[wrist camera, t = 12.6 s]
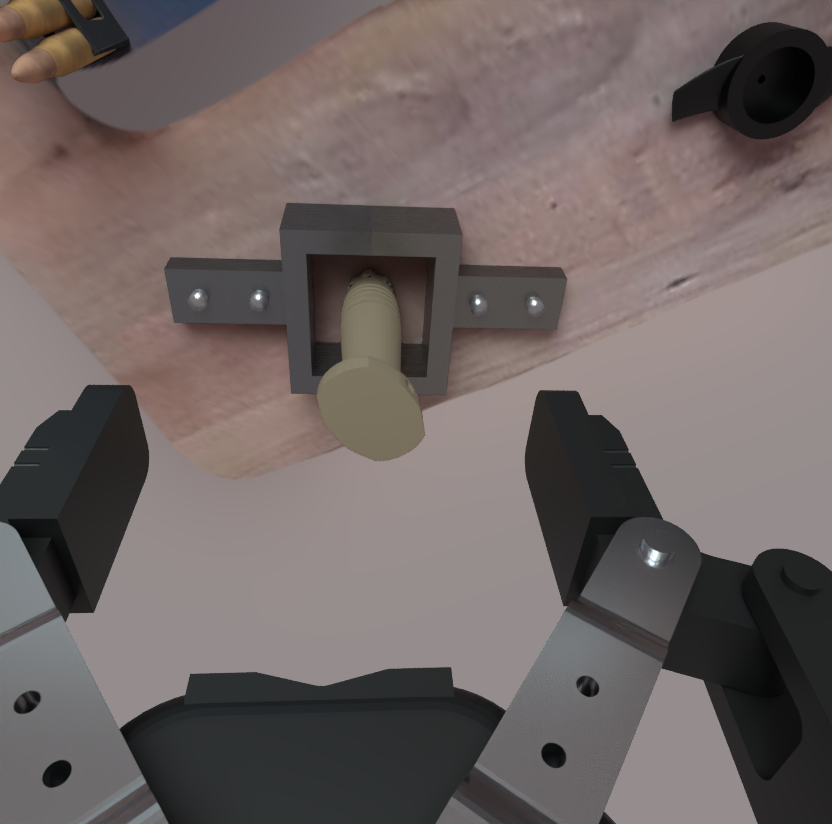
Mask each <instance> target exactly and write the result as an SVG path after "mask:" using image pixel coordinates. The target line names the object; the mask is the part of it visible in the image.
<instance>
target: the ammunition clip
mask: <svg viewBox="0 0 832 824" xmlns="http://www.w3.org/2000/svg"><path fill="white" fill-rule="evenodd" d="M69 26H72V27H71V28H69V29H66V30H64V31H61V32H59V33H56V34H55V33H54V32H55V31H58V30H60V29H63V28H66V27H69ZM41 36H44V37H45V38H44V39H42V40H41V41H40V42H39V43H38V44H37V45H36V47H34V48H32V49H31V50H30V51H28V52H26V53H24V54H23V55H22V56H20V57H19V58H18V59H17V60H16V62H15V63H14V65H13V67H12V71H11V73H12V77H13V78H14V79H15V80H17V81H20V82H25V83H36V82H40V81H43V80H46V79H49V78H52V77H55V76H57V77H62V76H65V75H68V74H70V73H72V72H74V71H76V70H78V69H80V68H82V67H84V66H87V65H90V64H93V63H96V62H98V61H101V60H104V59H106V58H108V57H109V56H111V55H112V54H114V53H116V52H117V51H119V50H120V49H122V48H123V47H125V46H126V45H128V44H129V38H128V37H127V35H126V34H125V33H124V31H123V30H122V28H121V27H120V25H119V24H118V22H117V21H116V19H115V18H114V16H113V15H112V13H111V12H110V10H109V9H108V7H107V6H106V5H105V3H104V2H103V0H11V1H9V3H8V4H7V5H5V6H3V7H0V42H7V41H12V40H15V39H17V40H18V39H23V38H27V39H35V38H38V37H41Z"/></svg>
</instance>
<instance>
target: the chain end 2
mask: <svg viewBox="0 0 832 824" xmlns="http://www.w3.org/2000/svg"><path fill="white" fill-rule="evenodd" d="M371 210H372V256H406V257H428V270H427V284H426V298H425V312H424V326H423V340H422V344H401V373H403V374H404V375H405V376H406V377H407V378H408V379H409V381H410V382H411V384H412V386H413V387H414V389H415V391H416V393H417V394H418V395H446V390H447V381H448V371H449V361H450V351H451V341H452V332H453V328H504V329H557V324H558V319H559V315H560V310H561V305H562V300H563V296H564V291H565V286H566V281H567V278H566V276H565V274H564V272H563V271H562V269H561V268H558V267H520V266H481V265H459V263H460V253H461V243H462V232H461V229H460V225H459V222H458V219H457V216H456V212H455V209H453V208H423V207H392V206H371Z"/></svg>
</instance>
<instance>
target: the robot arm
mask: <svg viewBox="0 0 832 824" xmlns="http://www.w3.org/2000/svg"><path fill="white" fill-rule="evenodd" d="M628 450H629V449H628V448H627V445H626V443H625V441H624V439H623V437H622V435H621V433H620V431H619V430H618V429H616V428H615V427H614V426H613V425H612V424H611V423H610V422H609V421H608V420H607V419H605V418H604V417H603V416H602V415H588V413H587V410H586V408H585V406H584V404H583V401H582V399H581V397H580V395H579V393H578V392H577V391H550V390H548V391H546V390H540V391H539V392H538V394H537V397H536V401H535V406H534V411H533V415H532V421H531V425H530V430H529V435H528V440H527V445H526V452H525V471H526V477H527V481H528V484H529V488H530V491H531V495H532V498H533V502H534V505H535V509H536V512H537V515H538V519H539V522H540V526H541V529H542V533H543V537H544V540H545V543H546V547H547V550H548V554H549V557H550V561H551V564H552V568H553V571H554V575H555V578H556V582H557V585H558V589H559V592H560V595H561V599H562V603H563V606H567V608H566V610H565V611H564V613H563V615H562V616H561V618H560V620H559V622H558V623H557V625H556V627H555V629H554V630H553V632H552V634H551V635H550V637H549V639H548V640H547V642H546V644H545V646H544V647H543V649H542V651H541V652H540V654H539V656H538V658H537V659H536V661H535V663H534V665H533V666H532V668H531V670H530V671H529V673H528V675H527V676H526V678H525V680H524V682H523V683H522V685H521V687H520V688H519V690H518V692H517V693H516V695H515V697H514V699H513V700H512V702H511V704H510V705H509V707H508V709H507V711H506V710H504V709H502V708H501V707H499V706H498V705H496V704H495V703H493V702H491V701H489V700H487V699H485V698H483V697H481V696H479V695H477V694H474V693H472V692H469V691H466V690H463V689H459V688H455V687H453V680H452V671H451V668H450V667H442V668H403V669H387V670H383V671H379V672H375V673H372V674H368V675H364V676H361V677H357V678H353V679H350V680H346V681H343V682H339V683H335V684H331V685H327V686H315V685H311V684H306V683H301V682H297V681H292V680H288V679H283V678H279V677H274V676H270V675H266V674H261V673H257V672H246V673H210V674H190V677H189V682H188V686H187V690H186V695H184V696H180V697H177V698H174V699H171V700H169V701H166V702H164V703H161V704H159V705H157V706H155V707H153V708H151V709H149V710H147V711H145V712H143V713H142V714H140V715H139V716H137V717H136V718H134V719H132V720H131V721H130V722H128V723H127V724H125V725H124V726H123V727H121V729H119V728H118V726H117V724H116V722H115V720H114V718H113V716H112V714H111V712H110V710H109V708H108V706H107V704H106V702H105V700H104V698H103V696H102V694H101V692H100V690H99V688H98V686H97V684H96V682H95V680H94V678H93V676H92V675H91V672H90V670H89V669H88V667H87V665H86V663H85V661H84V659H83V657H82V655H81V653H80V651H79V649H78V647H77V645H76V643H75V641H74V639H73V637H72V635H71V634H70V631H69V629H68V627H67V625H66V620H67V618H68V615H69V613H94V611H95V608H96V606H97V603H98V600H99V598H100V595H101V593H102V590H103V587H104V585H105V582H106V580H107V577H108V575H109V572H110V570H111V567H112V564H113V562H114V559H115V557H116V554H117V552H118V549H119V546H120V544H121V541H122V539H123V536H124V534H125V531H126V528H127V526H128V523H129V521H130V518H131V516H132V513H133V510H134V508H135V505H136V503H137V500H138V497H139V495H140V492H141V489H142V487H143V485H144V482H145V479H146V476H147V472H148V467H149V450H148V444H147V440H146V437H145V432H144V428H143V424H142V420H141V416H140V412H139V408H138V404H137V400H136V396H135V392H134V390H133V388H132V387H131V386H129V385H88V386H86V387H85V389H84V390H83V392H82V394H81V395H80V397H79V399H78V400H77V402H76V404H75V405H74V407H73V409H72V410H71V411H70V410H59V411H58V412H56V413H55V414H54V415H52V416H51V417H50V418H48V419H47V420H46V421H44V422H43V423H42V424H40V425H39V426H38V427H37V428H36V429H35V431H34V432H33V434H32V436H31V437H30V439H29V440H28V442H27V444H26V445H25V450H24V451H21V453H20V454H19V456H18V457H17V459H16V461H15V462H14V464H15V465H14V467H11V468H10V470H9V472H8V473H7V475H6V476H5V478H4V479H3V481H2V482H1V484H0V824H616V823H615V822H614V821H613V820H612V819H611V818H610V817H609V816H608V815H607V814H606V813H605V812H604V809H605V807H606V804H607V802H608V799H609V797H610V794H611V792H612V789H613V787H614V784H615V782H616V779H617V777H618V775H619V772H620V770H621V767H622V765H623V762H624V760H625V757H626V754H627V752H628V750H629V747H630V745H631V742H632V740H633V737H634V735H635V732H636V730H637V727H638V725H639V722H640V719H641V717H642V715H643V712H644V710H645V707H646V705H647V702H648V700H649V697H650V695H651V692H652V690H653V687H654V685H655V682H656V680H657V677H658V675H659V672H660V670H661V668H662V669H666V670H669V671H673V672H676V673H680V674H684V675H687V676H691V677H694V678H698V679H702V680H704V683H705V685H706V688H707V691H708V693H709V696H710V699H711V701H712V704H713V707H714V709H715V712H716V715H717V717H718V720H719V723H720V725H721V728H722V730H723V733H724V736H725V738H726V741H727V744H728V746H729V749H730V751H731V754H732V757H733V760H734V762H735V765H736V767H737V770H738V773H739V775H740V778H741V780H742V783H743V786H744V789H745V791H746V794H747V797H748V799H749V802H750V804H751V807H752V810H753V812H754V815H755V818H756V820H757V823H758V824H832V571H830V570H829V569H828V568H827V567H826V566H824V565H823V564H821V563H820V562H819V561H817V560H815V559H813V558H811V557H809V556H807V555H805V554H802V553H799V552H797V551H793V550H788V549H770V550H766V551H764V552H762V553H761V554H759V555H758V556H757V558H756V559H755V561H754V562H753V564H752V566H750V565H745V564H742V563H738V562H734V561H729V560H725V559H721V558H717V557H713V556H710V555H707V554H704V553H701V552H700V550H699V548H698V546H697V544H696V543H695V541H694V540H693V539H692V538H691V537H690V536H689V535H688V534H687V533H686V532H685V531H684V530H682V529H681V528H679V527H678V526H676V525H674V524H672V523H670V522H667V521H664V520H663V518H662V516H661V514H660V512H659V510H658V508H657V506H656V504H655V502H654V500H653V498H652V496H651V494H650V492H649V490H648V488H647V486H646V484H645V482H644V480H643V478H642V476H641V474H640V471H639V469H638V468H636V463H635V462H634V459H633V457H632V455H631V453H629V452H628Z"/></svg>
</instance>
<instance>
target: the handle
mask: <svg viewBox="0 0 832 824" xmlns="http://www.w3.org/2000/svg"><path fill="white" fill-rule="evenodd" d="M347 289H348V292H347V294H346V296H345V300H344V303H343V308H342V313H341V326H340V333H341V350H342V361H341V362H339V363H337V364H336V365H334V366H333V367H332V368H330V369H329V370H328V371H327V372H326V373H325V374H324V376H323V377H322V379H321V381H320V383H319V385H318V390H317V401H318V405H319V409H320V413H321V416H322V419H323V421H324V424H325V425H326V427H327V428H328V429H329V431H330V432H331V433H332V434H333V435H334V436H335V437H336V438H337V439H338V440H339V441H340V442H341V443H342V444H343V445H344V446H345V447H346V448H348V449H350V450H351V451H353V452H355V453H358V454H360V455H362V456H365V457H367V458H369V459H372V460H374V461H386V460H391V459H394V458H398V457H400V456H402V455H404V454H406V453H408V452H409V451H411V450H413V449H414V448H415V447H416V446H417V445H418V444H419V443H420V442H421V441H422V439H423V437H424V436H425V432H424V424H423V416H422V410H421V404H420V400H419V396H418V394H417V393H416V391H415V389H414V387H413V386H412V384H411V382H410V381H409V379H408V378H407V377H406V376H405V375H404V374H403V373H401V335H402V330H401V319H400V313H399V308H398V303H397V300H396V297H395V295H394V292H393V290H392V289H393V286H392V283H391V281H390V279H389V278H388V277H387V276H381V275H378V274H376V273H374V272H373V271H372V270H371V269H366V270H364V271H363V273H362V274H361V275H359V276H357V277H353V278H351V280H350V282H349V284H348V287H347Z"/></svg>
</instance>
